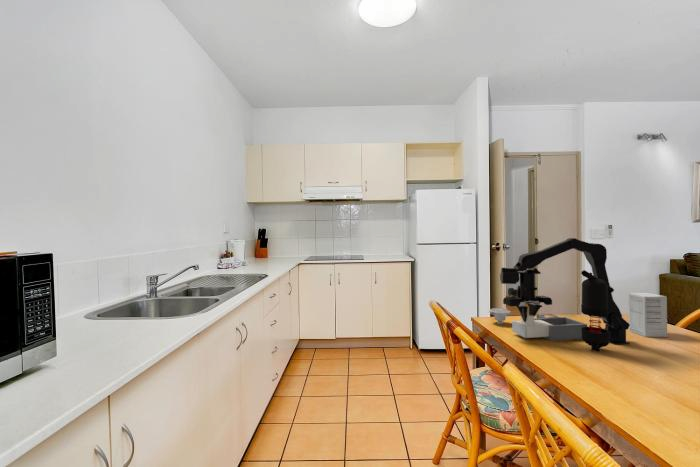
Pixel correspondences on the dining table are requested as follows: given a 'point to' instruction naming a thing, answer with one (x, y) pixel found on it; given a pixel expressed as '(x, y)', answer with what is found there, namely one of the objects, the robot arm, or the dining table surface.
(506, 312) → the showerhead
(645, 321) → the supplement box
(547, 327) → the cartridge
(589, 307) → the black tall rounded body
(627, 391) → the dining table surface
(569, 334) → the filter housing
